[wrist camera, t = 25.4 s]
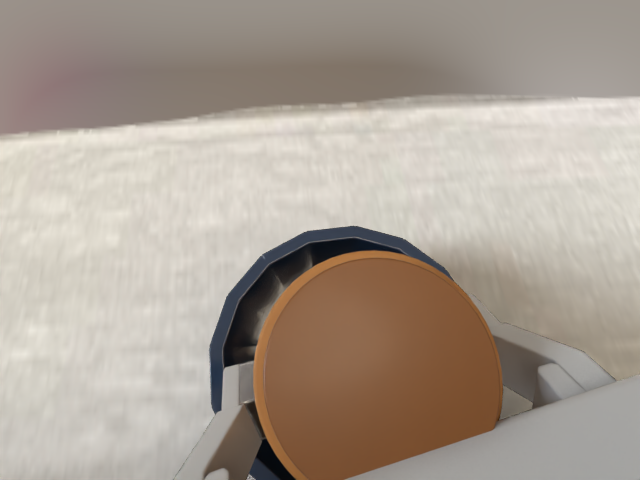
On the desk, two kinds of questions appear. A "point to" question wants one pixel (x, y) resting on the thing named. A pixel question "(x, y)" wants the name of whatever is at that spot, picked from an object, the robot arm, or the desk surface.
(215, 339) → the pot
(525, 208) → the desk surface
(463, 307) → the tall brown tube
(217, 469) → the robot arm
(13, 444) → the desk surface
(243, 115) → the desk surface
